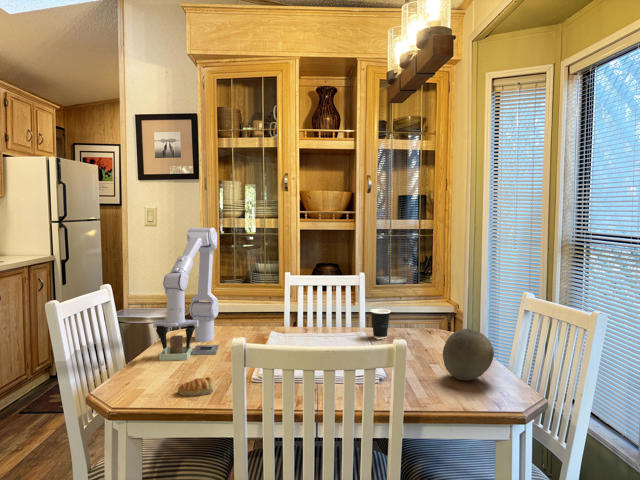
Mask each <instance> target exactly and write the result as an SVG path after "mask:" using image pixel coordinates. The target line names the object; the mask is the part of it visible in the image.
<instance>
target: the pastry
mask: <svg viewBox="0 0 640 480" xmlns="http://www.w3.org/2000/svg"><path fill="white" fill-rule="evenodd" d="M214 390H215V389H214V385H213V379H212V377H211V376H207V377H198V378H194V379H193V380H190V381H187V382H185V383H183V384H181V385H179V387H178V388H177V393H178V394H179V395H180V396H184V397H186V396H187V397H190V396H191V397H196V396H204V395H211V394H213V392H214Z"/></svg>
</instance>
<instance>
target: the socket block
mask: <svg viewBox="0 0 640 480" xmlns="http://www.w3.org/2000/svg"><path fill="white" fill-rule="evenodd" d="M219 348H220V344H210V345H209V344H204V345H203V344H202V345H201V344H198V345H195V347H194V349H192V354H191V355H192V356H199V355H200V356H206V355H207V356H208V355H209V356H211V355H212V356H213V355H214V356H215V355H217V352H218V351H219Z"/></svg>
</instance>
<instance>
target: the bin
mask: <svg viewBox="0 0 640 480" xmlns="http://www.w3.org/2000/svg"><path fill="white" fill-rule="evenodd" d="M192 351H193V346H192V345H190V347H189V348H187V349H186V345H185V346H183V354H170V346H167V347H166V348H165V349H163V350H162V351H160V353H159V355H158V356H159V361H160V362H162V361H163V362H165V361H168V362H169V361H188V360H189V359H190V357H191V355H192Z"/></svg>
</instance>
